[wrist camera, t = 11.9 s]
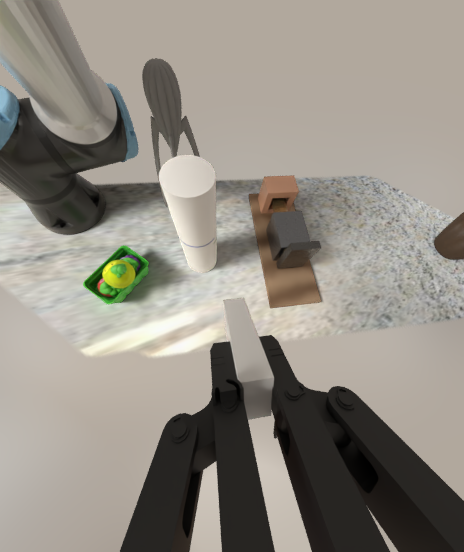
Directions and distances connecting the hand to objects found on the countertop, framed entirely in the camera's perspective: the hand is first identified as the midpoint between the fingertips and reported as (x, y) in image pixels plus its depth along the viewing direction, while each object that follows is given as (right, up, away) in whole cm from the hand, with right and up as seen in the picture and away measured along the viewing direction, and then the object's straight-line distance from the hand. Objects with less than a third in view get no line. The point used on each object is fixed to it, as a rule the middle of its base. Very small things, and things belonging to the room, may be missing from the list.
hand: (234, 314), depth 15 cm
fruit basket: (-24, +1, +31) cm, 39 cm away
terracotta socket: (+11, +22, +40) cm, 47 cm away
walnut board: (+12, +12, +37) cm, 41 cm away
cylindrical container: (-7, +7, +34) cm, 36 cm away
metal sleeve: (+13, +12, +36) cm, 40 cm away
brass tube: (+12, +14, +36) cm, 41 cm away
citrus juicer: (-11, +20, +39) cm, 45 cm away
